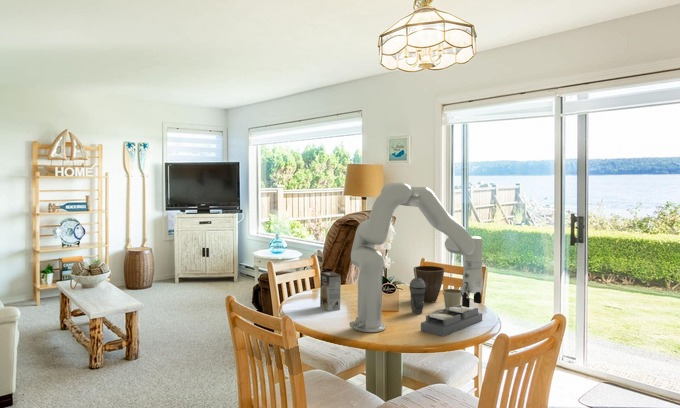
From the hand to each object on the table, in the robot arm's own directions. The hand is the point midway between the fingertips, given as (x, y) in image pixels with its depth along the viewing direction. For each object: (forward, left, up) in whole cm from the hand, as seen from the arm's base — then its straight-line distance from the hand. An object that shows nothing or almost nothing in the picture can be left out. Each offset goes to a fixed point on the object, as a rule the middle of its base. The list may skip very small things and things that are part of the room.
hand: (471, 304), depth 195 cm
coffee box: (-33, +53, -6) cm, 63 cm away
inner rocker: (-22, 0, -1) cm, 22 cm away
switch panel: (-15, 0, -6) cm, 16 cm away
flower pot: (+6, +13, -6) cm, 15 cm away
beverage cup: (-10, +21, -6) cm, 24 cm away
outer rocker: (-8, 0, -1) cm, 8 cm away
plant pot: (+12, +30, -6) cm, 33 cm away
